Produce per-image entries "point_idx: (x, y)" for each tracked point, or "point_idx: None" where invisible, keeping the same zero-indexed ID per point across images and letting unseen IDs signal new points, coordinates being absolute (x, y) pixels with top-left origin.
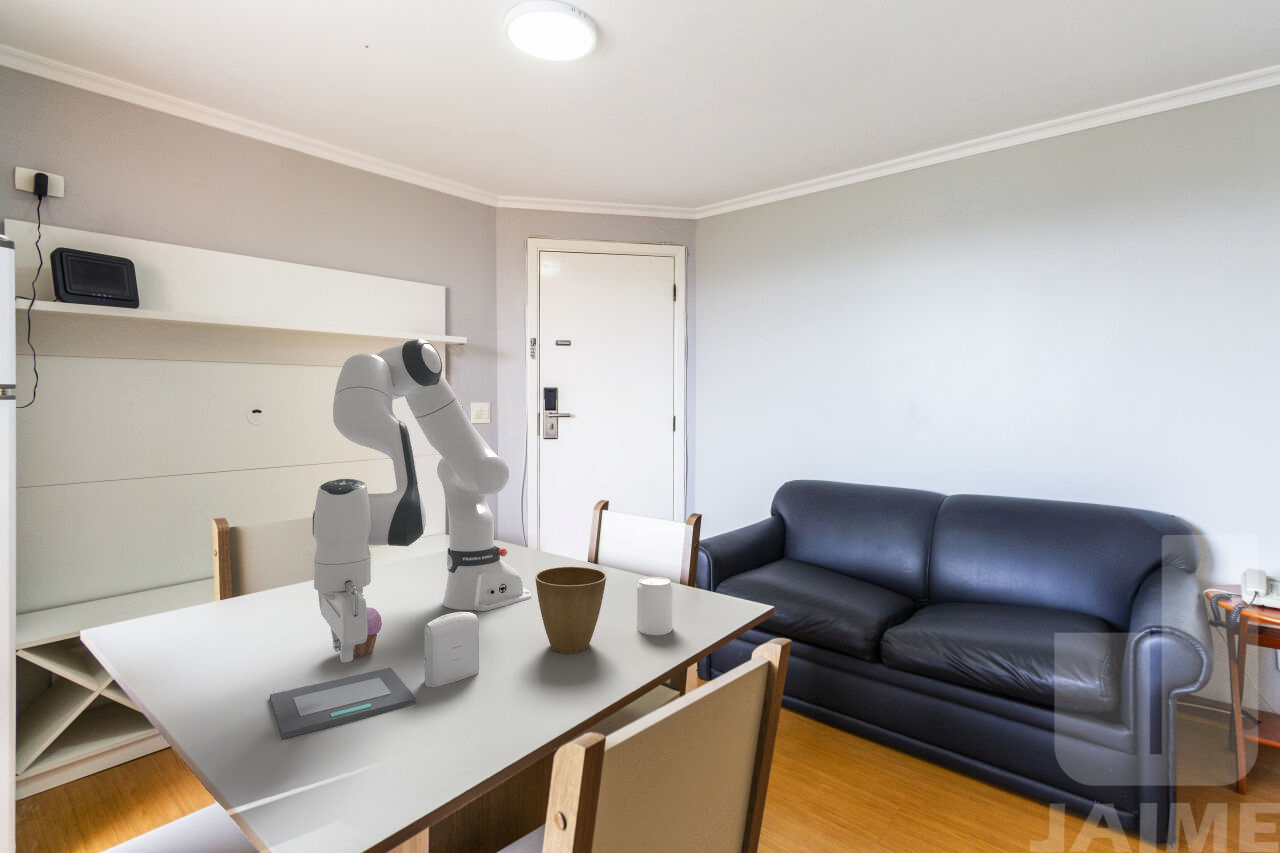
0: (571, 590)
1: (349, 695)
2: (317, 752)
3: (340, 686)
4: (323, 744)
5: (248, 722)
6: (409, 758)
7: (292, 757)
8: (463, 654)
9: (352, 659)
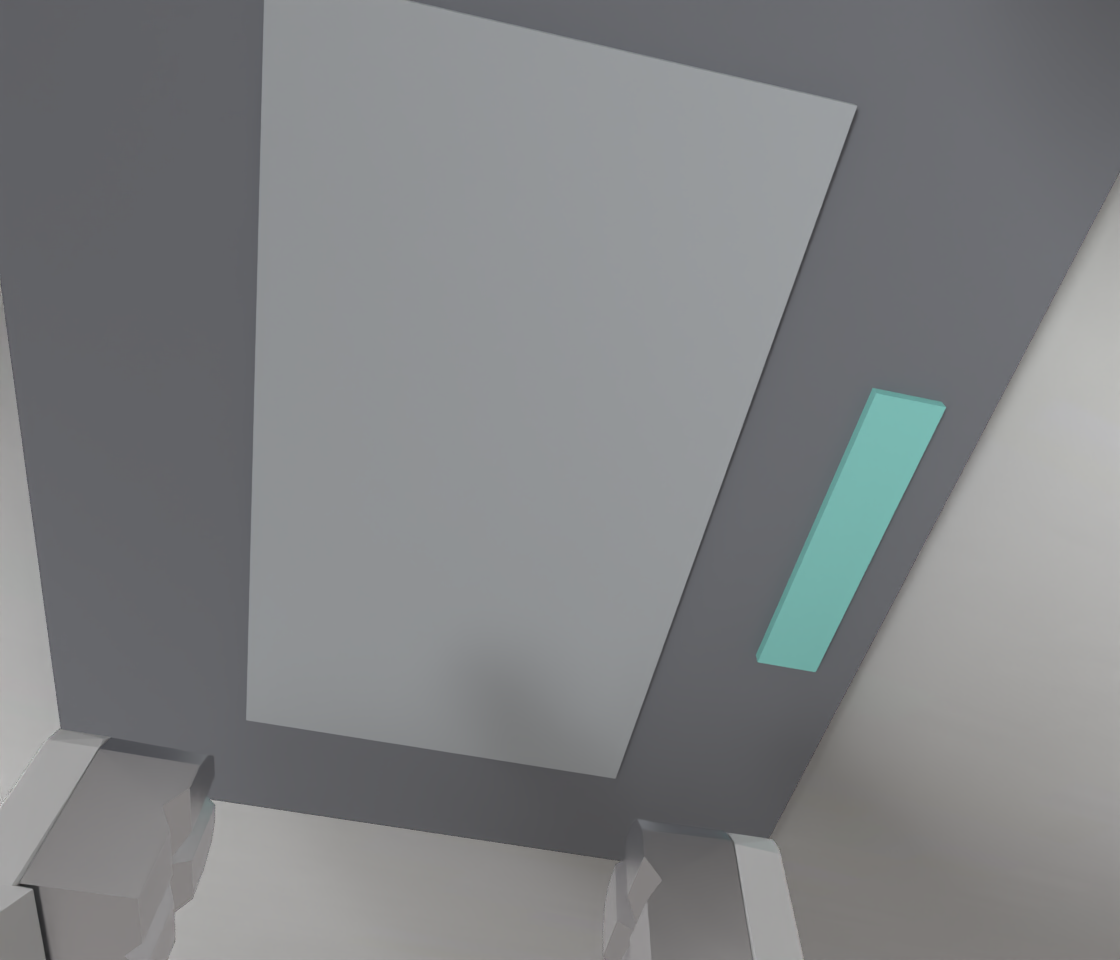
0: None
1: (536, 440)
2: (1071, 791)
3: (235, 402)
4: (1018, 746)
5: (364, 876)
6: None
7: (987, 867)
8: None
9: (775, 845)
